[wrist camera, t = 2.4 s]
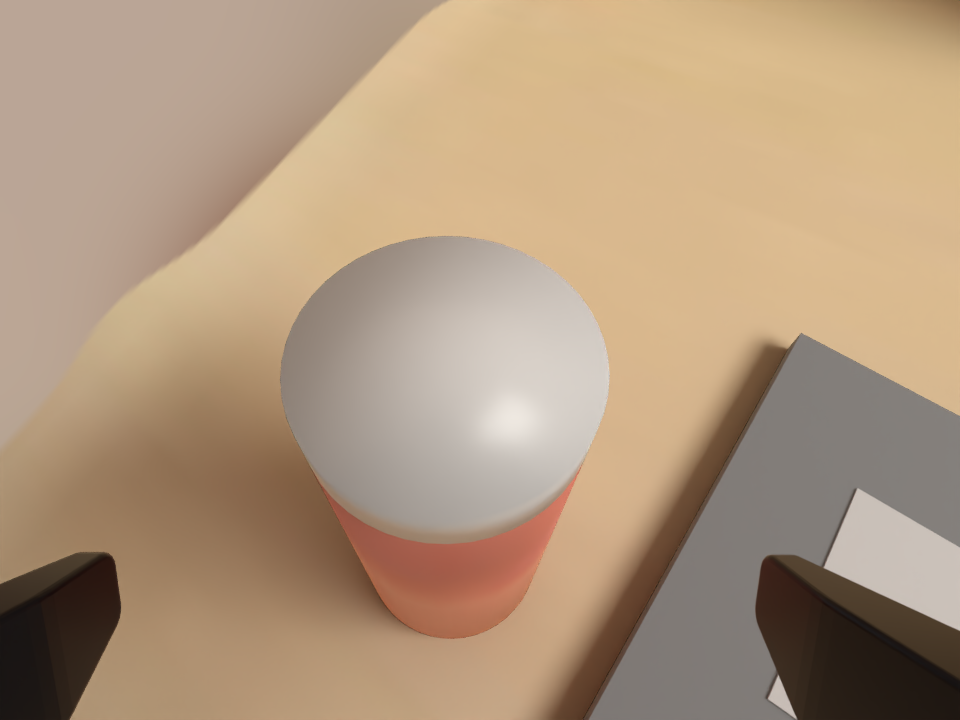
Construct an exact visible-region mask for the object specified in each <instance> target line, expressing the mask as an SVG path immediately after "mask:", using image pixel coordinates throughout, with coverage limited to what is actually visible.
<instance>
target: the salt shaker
mask: <svg viewBox="0 0 960 720" xmlns="http://www.w3.org/2000/svg"><path fill="white" fill-rule="evenodd" d="M609 377H610V375H609V362H608V355H607V351H606V346H605V342H604V339H603V336H602V333H601V331H600V328H599V326H598V323H597V321H596V320H595V318H594V316H593V314H592V312H591V311H590V309H589V307H588V306H587V304H586V303H585V302H584V300H583V299H582V298H581V296H580V295H579V294H578V293H577V292H576V291H575V289H574V288H573V287H572V286H571V285H570V284H569V283H568V282H567V281H566V280H565V279H563V278H562V277H561V276H560V275H559V274H557V273H556V272H555V271H554V270H552V269H551V268H550V267H548V266H546V265H545V264H543V263H542V262H540V261H539V260H537V259H535V258H533V257H531V256H529V255H527V254H525V253H523V252H521V251H519V250H516V249H513V248H511V247H508V246H505V245H502V244H499V243H495V242H491V241H487V240H482V239H476V238H469V237H455V236H438V237H425V238H418V239H412V240H406V241H403V242H399V243H395V244H391V245H388V246H385V247H383V248H380V249H377V250H375V251H372V252H370V253H368V254H366V255H364V256H362V257H360V258H358V259H356V260H354V261H353V262H351V263H350V264H348V265H346V266H345V267H343V268H342V269H340V270H339V271H338V272H337V273H335V274H334V275H333V276H332V277H330V278H329V279H328V280H327V281H325V282H324V284H323V285H322V286H321V287H320V288H319V289H318V290H317V291H316V292H315V293H314V294H313V295H312V296H311V298H310V299H309V300H308V302H307V303H306V304H305V306H304V307H303V308H302V310H301V311H300V313H299V315H298V317H297V319H296V320H295V322H294V324H293V326H292V328H291V331H290V333H289V336H288V339H287V341H286V344H285V349H284V353H283V357H282V363H281V376H280V383H281V396H282V402H283V406H284V410H285V414H286V418H287V421H288V423H289V425H290V428H291V430H292V433H293V435H294V437H295V439H296V441H297V443H298V445H299V447H300V448H301V450H302V452H303V454H304V456H305V458H306V460H307V462H308V463H309V465H310V467H311V469H312V471H313V473H314V475H315V477H316V478H317V480H318V482H319V484H320V486H321V488H322V490H323V491H324V493H325V495H326V497H327V499H328V501H329V503H330V505H331V506H332V508H333V510H334V512H335V514H336V516H337V518H338V520H339V521H340V523H341V525H342V527H343V529H344V531H345V533H346V535H347V536H348V538H349V540H350V542H351V544H352V546H353V548H354V549H355V551H356V553H357V555H358V557H359V559H360V561H361V563H362V564H363V566H364V568H365V570H366V572H367V574H368V576H369V578H370V579H371V581H372V583H373V585H374V587H375V589H376V591H377V593H378V594H379V596H380V598H381V599H382V601H383V603H384V604H385V605H386V607H387V608H388V609H389V610H390V612H391V613H392V614H393V615H394V616H396V617H397V618H398V619H399V620H400V621H401V622H403V623H404V624H406V625H407V626H408V627H410V628H412V629H414V630H416V631H418V632H420V633H423V634H426V635H429V636H433V637H439V638H452V639H454V638H464V637H469V636H473V635H477V634H479V633H482V632H484V631H487V630H489V629H491V628H492V627H494V626H496V625H498V624H499V623H500V622H502V621H503V620H504V619H505V618H507V617H508V616H509V615H510V614H511V613H512V612H513V611H514V610H515V608H516V607H517V606H518V604H519V603H520V602H521V600H522V599H523V597H524V595H525V594H526V592H527V590H528V588H529V585H530V583H531V581H532V578H533V576H534V574H535V572H536V569H537V567H538V565H539V562H540V560H541V558H542V556H543V553H544V551H545V549H546V546H547V544H548V542H549V540H550V537H551V535H552V533H553V530H554V528H555V526H556V523H557V521H558V519H559V517H560V514H561V512H562V510H563V507H564V505H565V503H566V501H567V498H568V496H569V494H570V491H571V489H572V487H573V485H574V482H575V480H576V478H577V475H578V473H579V471H580V469H581V466H582V464H583V462H584V459H585V457H586V455H587V453H588V450H589V448H590V446H591V443H592V441H593V439H594V436H595V434H596V432H597V429H598V427H599V424H600V422H601V419H602V417H603V414H604V411H605V406H606V402H607V398H608V391H609Z"/></svg>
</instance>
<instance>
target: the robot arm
mask: <svg viewBox="0 0 960 720" xmlns="http://www.w3.org/2000/svg"><path fill="white" fill-rule="evenodd" d="M120 613H121V601H120V594H119V587H118V579H117V572H116V565H115V561H114V559H113V557H112V556H111V555H110V554H109V553H105V552H80V553H75V554H73V555H70V556H68V557H65V558H63V559H60V560H58V561H56V562H53V563H51V564H48V565H46V566H43V567H41V568H38V569H36V570H33V571H31V572H29V573H26V574H24V575H21V576H19V577H16V578H14V579H11V580H9V581H6V582H4V583H2V584H0V720H70V718H71V716H72V714H73V712H74V710H75V708H76V706H77V704H78V702H79V700H80V698H81V696H82V694H83V692H84V690H85V688H86V686H87V684H88V682H89V680H90V678H91V676H92V674H93V672H94V670H95V668H96V666H97V664H98V662H99V660H100V658H101V656H102V654H103V652H104V650H105V648H106V647H107V645H108V643H109V641H110V639H111V637H112V635H113V633H114V631H115V629H116V627H117V624H118V621H119V618H120ZM755 615H756V620H757V624H758V627H759V629H760V632H761V634H762V637H763V639H764V641H765V644H766V646H767V649H768V651H769V653H770V656H771V658H772V661H773V663H774V666H775V668H776V670H777V673H778V675H779V678H780V680H781V682H782V685H783V687H784V690H785V692H786V695H787V697H788V699H789V702H790V704H791V707H792V709H793V711H794V714H795V716H796V718H797V720H960V631H959V630H957V629H955V628H953V627H951V626H948V625H946V624H944V623H942V622H940V621H938V620H935V619H933V618H931V617H929V616H927V615H925V614H922V613H920V612H918V611H916V610H914V609H912V608H909V607H907V606H905V605H903V604H901V603H899V602H896V601H894V600H892V599H890V598H888V597H886V596H884V595H881V594H879V593H877V592H875V591H873V590H871V589H868V588H866V587H864V586H862V585H860V584H858V583H855V582H853V581H851V580H849V579H847V578H845V577H842V576H840V575H838V574H836V573H834V572H832V571H829V570H827V569H825V568H823V567H821V566H819V565H816V564H814V563H812V562H810V561H808V560H806V559H803V558H801V557H799V556H797V555H767V556H766V557H765V558H764V559H763V561H762V563H761V568H760V575H759V582H758V589H757V596H756V603H755Z"/></svg>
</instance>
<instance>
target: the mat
mask: <svg viewBox="0 0 960 720" xmlns="http://www.w3.org/2000/svg"><path fill="white" fill-rule="evenodd" d="M767 555H797V556H799V557H801V558H803V559H806V560H808V561H810V562H812V563H814V564H816V565H819V566H821V567H823V568H825V569H827V570H829V571H832V572H834V573H836V574H838V575H840V576H842V577H845V578H847V579H849V580H851V581H853V582H855V583H858V584H860V585H862V586H864V587H866V588H868V589H871V590H873V591H875V592H877V593H879V594H881V595H884V596H886V597H888V598H890V599H892V600H894V601H896V602H899V603H901V604H903V605H905V606H907V607H909V608H912V609H914V610H916V611H918V612H920V613H922V614H925V615H927V616H929V617H931V618H933V619H935V620H938V621H940V622H942V623H944V624H946V625H948V626H951V627H953V628H955V629H957V630H959V631H960V416H958V415H956V414H955V413H953V412H951V411H949V410H947V409H945V408H943V407H941V406H939V405H937V404H935V403H934V402H932V401H930V400H928V399H926V398H924V397H922V396H920V395H918V394H916V393H915V392H913V391H911V390H909V389H907V388H905V387H903V386H901V385H899V384H897V383H895V382H894V381H892V380H890V379H888V378H886V377H884V376H882V375H880V374H878V373H876V372H874V371H873V370H871V369H869V368H867V367H865V366H863V365H861V364H859V363H857V362H855V361H854V360H852V359H850V358H848V357H846V356H844V355H842V354H840V353H838V352H836V351H834V350H833V349H831V348H829V347H827V346H825V345H823V344H821V343H819V342H817V341H815V340H814V339H812V338H810V337H808V336H806V335H804V334H802V333H801V334H800V335H799V336H798V337H797V339H796V340H795V341H794V342H793V343H792V345H791V346H790V347H789V348H788V350H787V352H786V354H785V356H784V357H783V359H782V361H781V363H780V365H779V366H778V368H777V370H776V372H775V374H774V375H773V377H772V379H771V381H770V383H769V384H768V386H767V388H766V390H765V392H764V394H763V395H762V397H761V399H760V401H759V403H758V404H757V406H756V408H755V410H754V412H753V413H752V415H751V417H750V419H749V421H748V422H747V424H746V426H745V428H744V430H743V431H742V433H741V435H740V437H739V439H738V440H737V442H736V444H735V446H734V448H733V450H732V451H731V453H730V455H729V457H728V459H727V460H726V462H725V464H724V466H723V468H722V469H721V471H720V473H719V475H718V477H717V478H716V480H715V482H714V484H713V486H712V487H711V489H710V491H709V493H708V495H707V496H706V498H705V500H704V502H703V504H702V505H701V507H700V509H699V511H698V513H697V515H696V516H695V518H694V520H693V522H692V524H691V525H690V527H689V529H688V531H687V533H686V534H685V536H684V538H683V540H682V542H681V543H680V545H679V547H678V549H677V551H676V552H675V554H674V556H673V558H672V560H671V561H670V563H669V565H668V567H667V569H666V571H665V572H664V574H663V576H662V578H661V580H660V581H659V583H658V585H657V587H656V589H655V590H654V592H653V594H652V596H651V598H650V599H649V601H648V603H647V605H646V607H645V608H644V610H643V612H642V614H641V616H640V617H639V619H638V621H637V623H636V625H635V626H634V628H633V630H632V632H631V634H630V636H629V637H628V639H627V641H626V643H625V645H624V646H623V648H622V650H621V652H620V654H619V655H618V657H617V659H616V661H615V663H614V664H613V666H612V668H611V670H610V672H609V673H608V675H607V677H606V679H605V681H604V682H603V684H602V686H601V688H600V690H599V692H598V693H597V695H596V697H595V699H594V701H593V702H592V704H591V706H590V708H589V710H588V711H587V713H586V715H585V717H584V719H583V720H797V718H796V716H795V714H794V711H793V709H792V707H791V704H790V702H789V699H788V697H787V695H786V692H785V690H784V687H783V685H782V682H781V680H780V678H779V675H778V673H777V670H776V668H775V666H774V663H773V661H772V658H771V656H770V653H769V651H768V649H767V646H766V644H765V641H764V639H763V637H762V634H761V632H760V629H759V627H758V624H757V620H756V615H755V603H756V596H757V589H758V582H759V575H760V568H761V563H762V561H763V559H764V558H765V557H766V556H767Z"/></svg>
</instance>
